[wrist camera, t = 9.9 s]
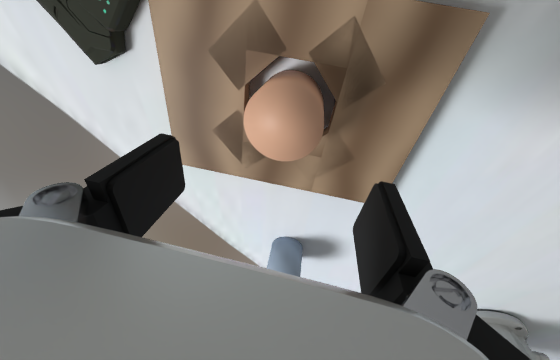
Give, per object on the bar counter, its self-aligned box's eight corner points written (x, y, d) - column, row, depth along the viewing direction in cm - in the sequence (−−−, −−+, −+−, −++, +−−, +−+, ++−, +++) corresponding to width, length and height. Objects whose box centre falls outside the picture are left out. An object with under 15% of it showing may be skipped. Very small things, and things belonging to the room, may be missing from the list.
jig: (475, 14, 14) (489, 13, 13) (376, 196, 24) (379, 205, 22) (155, -40, 15) (140, -46, 14) (183, 156, 24) (176, 163, 23)
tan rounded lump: (331, 77, 18) (334, 91, 14) (314, 141, 21) (313, 167, 17) (262, 64, 18) (245, 75, 14) (257, 129, 21) (242, 153, 17)
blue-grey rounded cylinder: (305, 240, 30) (302, 274, 26) (299, 259, 32) (296, 292, 28) (274, 233, 30) (266, 266, 26) (270, 252, 32) (263, 284, 28)
